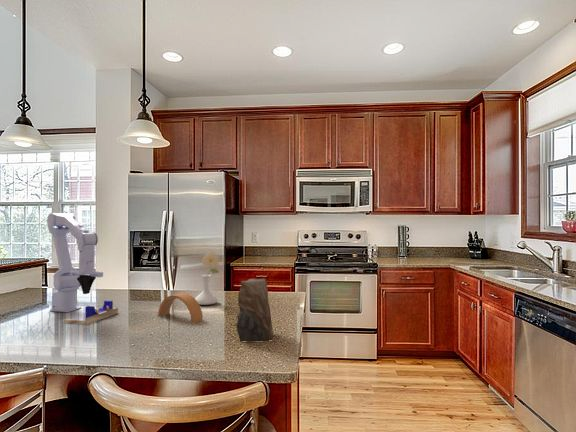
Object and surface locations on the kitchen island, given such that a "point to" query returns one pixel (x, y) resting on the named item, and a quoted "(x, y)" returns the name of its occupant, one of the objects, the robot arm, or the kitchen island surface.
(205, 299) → the flower in vase
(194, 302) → the arch
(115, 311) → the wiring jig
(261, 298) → the dark grey rock
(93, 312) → the blue pipe clamp half
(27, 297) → the kitchen island surface
